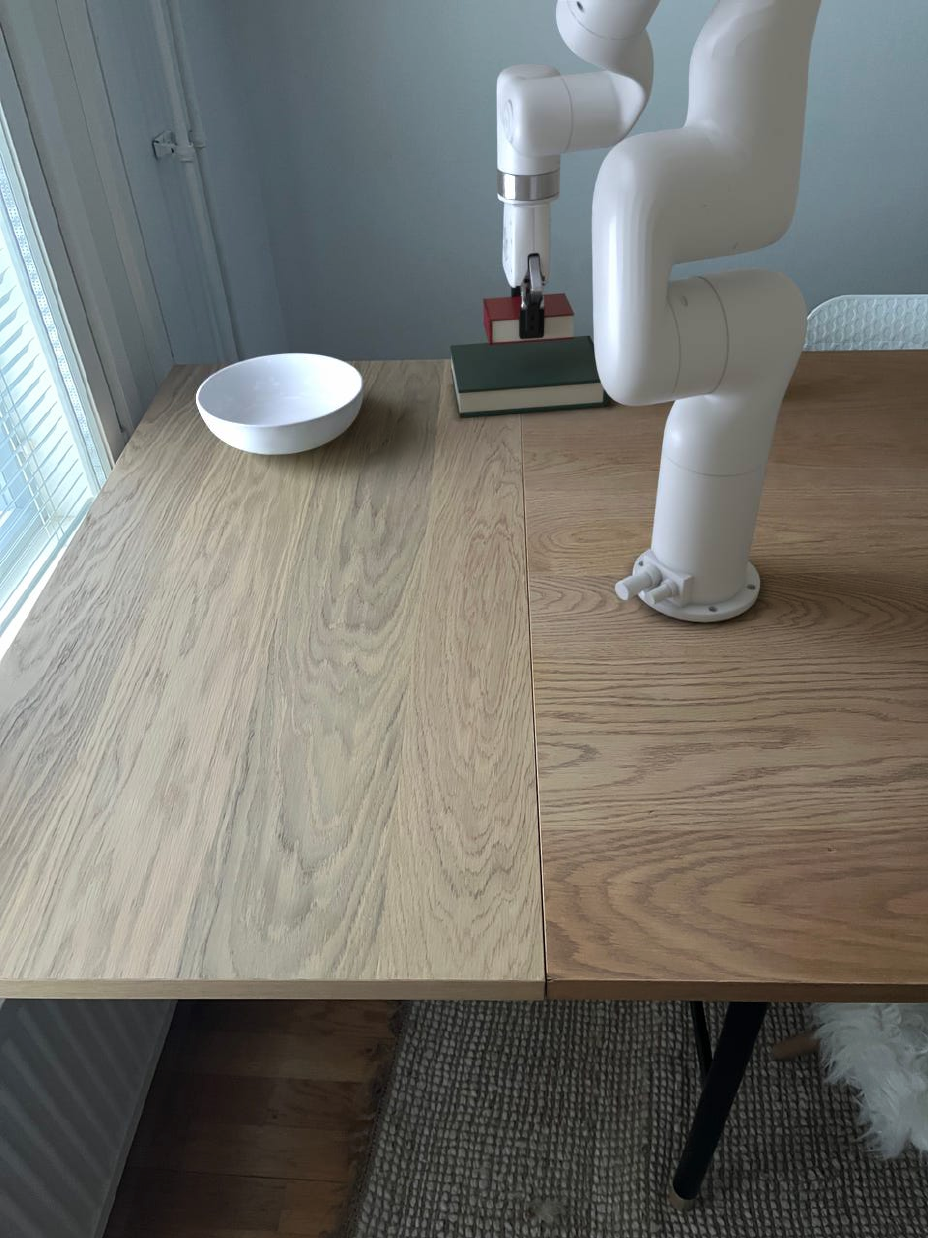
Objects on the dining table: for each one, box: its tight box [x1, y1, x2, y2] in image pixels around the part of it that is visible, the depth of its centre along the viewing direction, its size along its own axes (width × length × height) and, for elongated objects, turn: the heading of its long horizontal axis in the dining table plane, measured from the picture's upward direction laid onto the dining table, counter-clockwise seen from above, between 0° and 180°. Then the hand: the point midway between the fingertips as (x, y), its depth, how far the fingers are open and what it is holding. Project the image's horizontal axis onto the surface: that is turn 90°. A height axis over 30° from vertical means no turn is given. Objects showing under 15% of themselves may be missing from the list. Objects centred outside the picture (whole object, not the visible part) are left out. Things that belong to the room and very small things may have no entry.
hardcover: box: [449, 335, 610, 419], centre depth 130 cm, size 20×14×4 cm
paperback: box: [482, 292, 575, 345], centre depth 125 cm, size 11×7×4 cm, turn 95°
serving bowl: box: [195, 352, 365, 456], centre depth 121 cm, size 21×21×7 cm
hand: (527, 324), depth 126 cm, fingers closed on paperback, 7 cm apart
